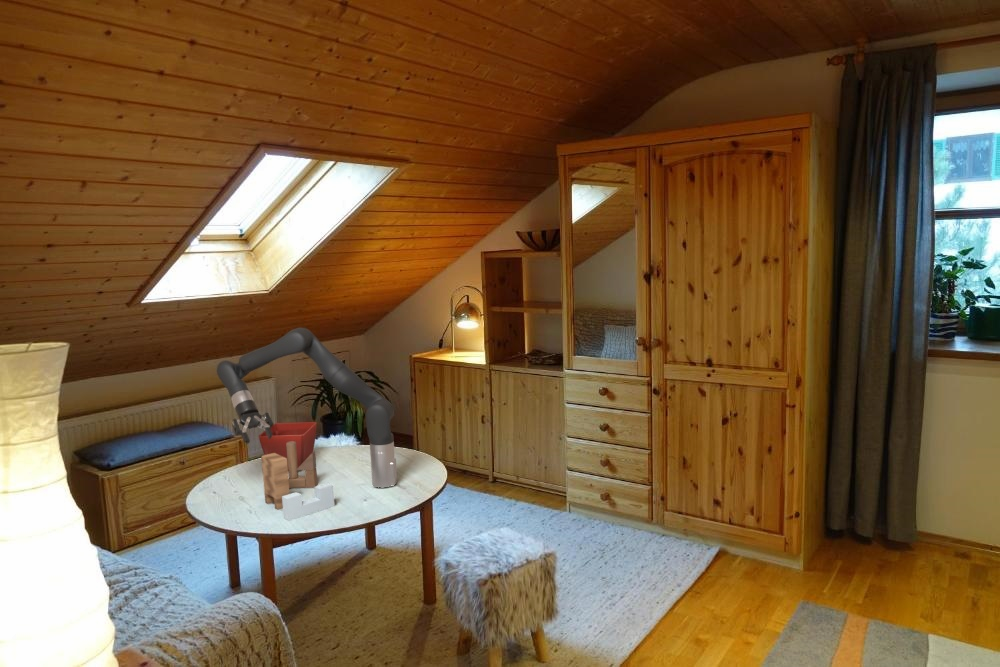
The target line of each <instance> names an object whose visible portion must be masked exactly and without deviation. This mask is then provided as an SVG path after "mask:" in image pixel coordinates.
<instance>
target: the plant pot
mask: <svg viewBox="0 0 1000 667" xmlns="http://www.w3.org/2000/svg"><path fill="white" fill-rule="evenodd" d="M317 423H318V422H317V421H314V422H313V421H312V422H311V421H310V422H306V421H305V422H276V423H273V426H272V428H271V429H270V430H271V432H272V437H271V439H268V437H267V435H266V432H265V430H264V431H263V432H261V433H260V434H259V435H258V440H259V443H260V446H261V449H262V452H263V454H264V455H267V454H271V453H276V454H278V455H280V456H283V457H285V458H287V447H286V443H287V442H290V441H294V442H296V451H297V464H298V467H299V466H300V465H301V464H302V463H303V462H304V461H305V460H306V459H307V458H308V457H309V456H310V455H311V454H312V453H313V451H314V447H315V444H316V437H317V436H316V435H317V426H318V425H317ZM287 466H288V459H287ZM302 471H303V470H300V471H299V472H302Z"/></svg>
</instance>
